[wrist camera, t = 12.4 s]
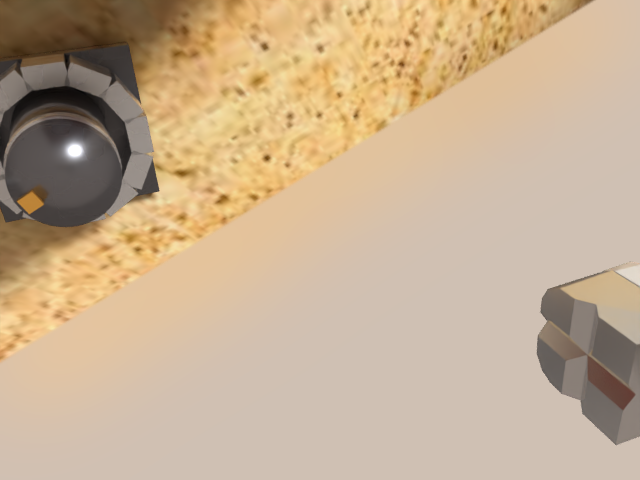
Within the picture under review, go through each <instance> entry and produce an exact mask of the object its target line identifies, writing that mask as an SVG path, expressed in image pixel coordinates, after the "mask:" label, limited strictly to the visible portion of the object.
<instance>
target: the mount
mask: <svg viewBox="0 0 640 480" xmlns="http://www.w3.org/2000/svg"><path fill="white" fill-rule="evenodd" d="M60 86H64V87H69V88H72V89H75V90H78V91H79V92H81V93H83V94H85V95H86V96H88V97H89V98H90V99H91V100H92V101H93V102H94V103H95V104H96V105H97V106H98V108H99V109H100V111H101V113H102V115H103V118H104V120H105V123H106V126H107V129H108V131H109V134H110V137H111V138H112V140H113V141H114V143H115V145H116V148H117V150H118V153H119V156H120V159H121V164H122V185H121V189H120V192H119V195H118V197H117V199H116V201H115V202H114V204H113V205H112V206H111V208H110V209H109V210H108V211H107V212H106V213H107V214H108V215H109V216H112V215H113V214H114V213H115V212H117V211H118V210H119V209H120V208H122V207H123V206H124V205H125V204H126V203H128V202H129V201H130V200H131V199H133V198H134V197H135V196H139V195H143V194H148V193H153V192H158V191H159V187H158V182H157V178H156V173H155V168H154V163H153V155H152V152H154V150H153V145H152V141H151V136H150V131H149V126H148V122H147V117H146V114H145V112H144V110H143V108H142V106H141V102H140V97H139V92H138V88H137V83H136V78H135V73H134V69H133V64H132V59H131V54H130V50H129V45H128V43H127V42H123V43H115V44H107V45H100V46H92V47H84V48H77V49H69V50H62V51H54V52H46V53H39V54H31V55H23V56H16V57H8V58H0V207H1V210H2V213H3V216H4V219H5V221H6V222H10V221H15V220H20V219H25V218H28V219H32V220H35V219H33V218H31V217H30V216H28V215H27V214H25V213H24V212H23V211H22V210H21V209H20V208H19V207H18V206H17V205H16V204H15V203H14V201H13V199H12V198H11V196H10V194H9V192H8V189H7V186H6V181H5V177H4V171H3V162H4V155H5V150H6V147H7V144H8V141H9V133H10V125H11V118H12V114H13V111H14V109H15V107H16V106H17V104H18V103H19V102H20V100H21V99H22V98H23V97H24V96H26V95H27V94H28V93H30V92H32V91H34V90H40V89H47V88H53V87H60ZM102 219H106V218H105V213H104V214H103V215H102V216H100V217H99V218H97V219H95V220H93V221H98V220H102ZM93 221H91V222H93Z"/></svg>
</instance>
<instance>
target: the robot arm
mask: <svg viewBox="0 0 640 480" xmlns="http://www.w3.org/2000/svg"><path fill="white" fill-rule="evenodd" d="M541 313H542V315H543V316H544V317H545V319H546V320H547V323H546V324H545V326H544V327H543V329H542V330H541V332H540V333H539V335H538V342H537V355H538V359H539V361H540V365H541V368H542V371H543V372H544V374H545V375H546V377H547V378H548V380H549V381H550V383H551V384H552V385H553V386H554V387H555V388H556V389H557V390H559V392H561V394H564V395H567V396H570V397H573V398H575V399H579V400H581V407H582V413H583V415H585V416H586V417H587V418H588V419H589V420H590V421H591V422H592V423H593V424H594V425H595V426H596V427H597V428H598V429H599V430H600V431H602V432H603V433H604V434H605V435H606V436H607V437H608V438H609V439H610V440H611V441H612V442H613V443H614V444H615V445H618V444H620V443H623V442H626V441H628V440H631V439H634V438H636V437H639V436H640V263H635V262H629V263H626V264H622V265H619V266H616V267H613V268H610V269H608V270H604V271H603V272H601V273H597V274H594V275H591V276H587V277H584V278H581V279H578V280H575V281H572V282H569V283H565V284H563V285H559V286H556V287H553V288H550V289H548V290H547V291H546V293H545V295H544V296H543V298H542V304H541Z"/></svg>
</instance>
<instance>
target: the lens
mask: <svg viewBox="0 0 640 480" xmlns="http://www.w3.org/2000/svg"><path fill="white" fill-rule="evenodd" d="M3 171H4V177H5V181H6V186H7V189H8V192H9V194H10V196H11V198H12V199H13V201H14V203H15V204H16V205H17V206H18V207H19V208H20V209H21V210H22V211H23V212H24V213H25V214H27V215H28V216H30V217H31V218H33V219H35V220H37V221H39V222H41V223H44V224H48V225H51V226H58V227H73V226H79V225H83V224H86V223H89V222H91V221H93V220H95V219H97V218H99V217H100V216H102V215H103V214H104V213H106V212H107V211H108V210H109V209H110V208H111V206H112V205H113V204H114V202H115V201H116V199H117V197H118V195H119V192H120V189H121V185H122V164H121V159H120V156H119V153H118V150H117V148H116V145H115V143H114V141H113V140H112V138H111V137H110V134H109V131H108V129H107V126H106V123H105V120H104V118H103V115H102V113H101V111H100V109H99V108H98V106H97V105H96V104H95V103H94V102H93V101H92V100H91V99H90V98H89V97H88V96H86V95H85V94H83V93H81V92H79V91H78V90H75V89H72V88H69V87H64V86H60V87H53V88H47V89H40V90H34V91H32V92H30V93H28V94H27V95H26V96H24V97H23V98H22V99H21V100H20V102H19V103H18V104H17V106H16V107H15V109H14V111H13V114H12V118H11V125H10V133H9V141H8V144H7V147H6V150H5V155H4V162H3Z"/></svg>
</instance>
